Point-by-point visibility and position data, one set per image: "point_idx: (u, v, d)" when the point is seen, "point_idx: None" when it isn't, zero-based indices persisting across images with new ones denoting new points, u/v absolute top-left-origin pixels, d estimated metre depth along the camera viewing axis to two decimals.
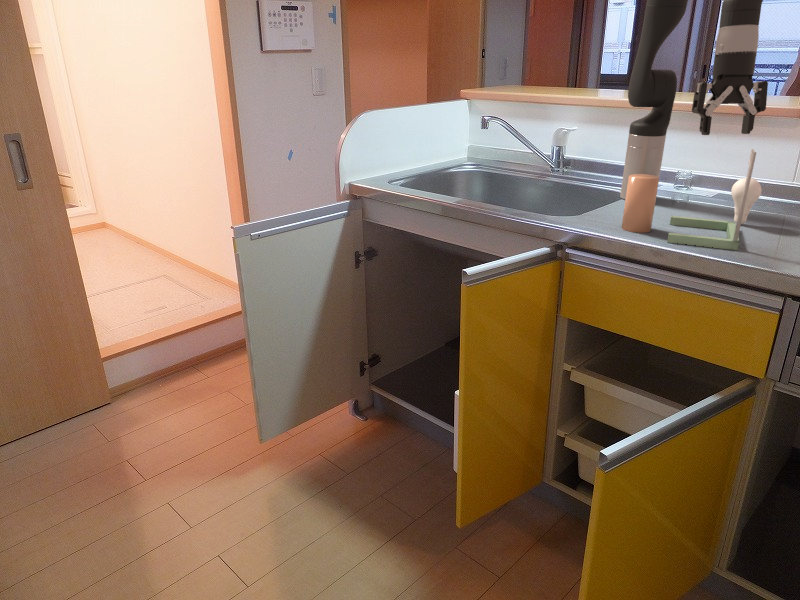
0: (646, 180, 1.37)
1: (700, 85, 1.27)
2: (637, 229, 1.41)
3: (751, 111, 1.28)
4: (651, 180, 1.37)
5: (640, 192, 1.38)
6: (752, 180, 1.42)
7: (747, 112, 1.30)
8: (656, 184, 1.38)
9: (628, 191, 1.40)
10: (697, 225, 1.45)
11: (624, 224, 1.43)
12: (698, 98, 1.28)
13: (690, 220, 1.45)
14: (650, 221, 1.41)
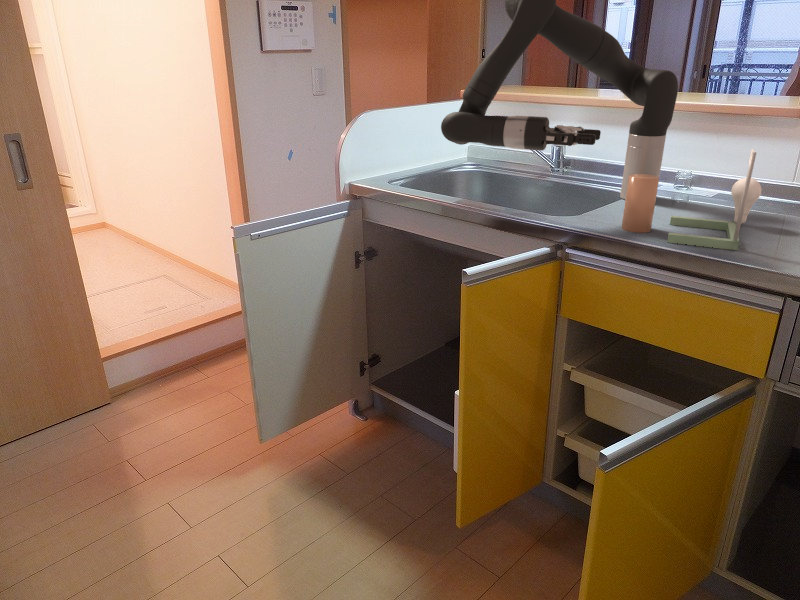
0: (646, 180, 1.37)
1: None
2: (637, 229, 1.41)
3: None
4: (651, 180, 1.37)
5: (640, 192, 1.38)
6: (752, 180, 1.42)
7: None
8: (656, 184, 1.38)
9: (628, 191, 1.40)
10: (697, 225, 1.45)
11: (624, 224, 1.43)
12: None
13: (690, 220, 1.45)
14: (650, 221, 1.41)
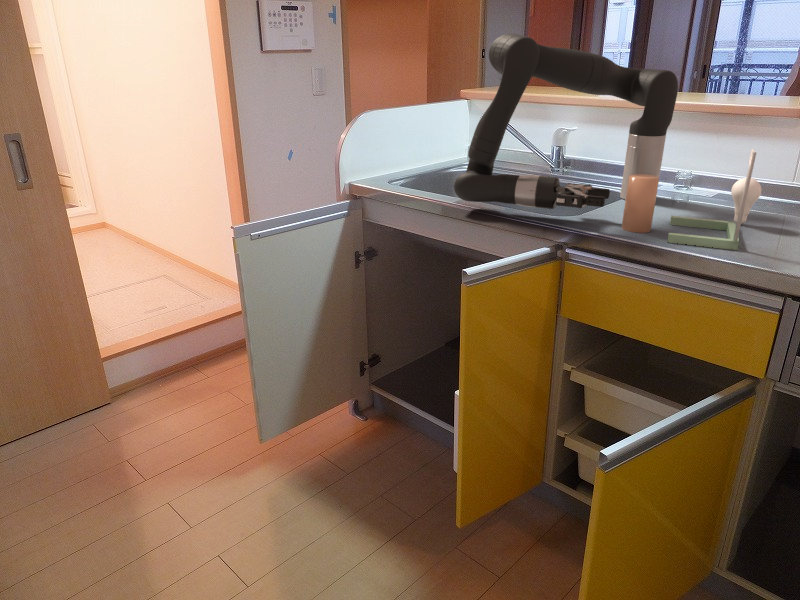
0: (646, 180, 1.37)
1: None
2: (637, 229, 1.41)
3: None
4: (651, 180, 1.37)
5: (640, 192, 1.38)
6: (752, 180, 1.42)
7: None
8: (656, 184, 1.38)
9: (628, 191, 1.40)
10: (697, 225, 1.45)
11: (624, 224, 1.43)
12: None
13: (690, 220, 1.45)
14: (650, 221, 1.41)
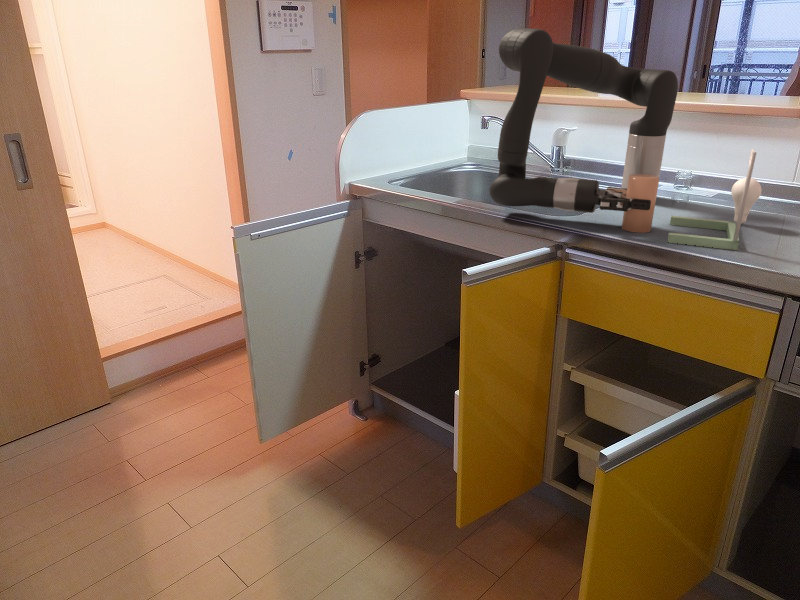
0: (646, 180, 1.37)
1: None
2: (637, 229, 1.41)
3: None
4: (651, 180, 1.37)
5: (640, 192, 1.38)
6: (752, 180, 1.42)
7: None
8: (656, 184, 1.38)
9: (628, 191, 1.40)
10: (697, 225, 1.45)
11: (624, 224, 1.43)
12: None
13: (690, 220, 1.45)
14: (650, 221, 1.41)
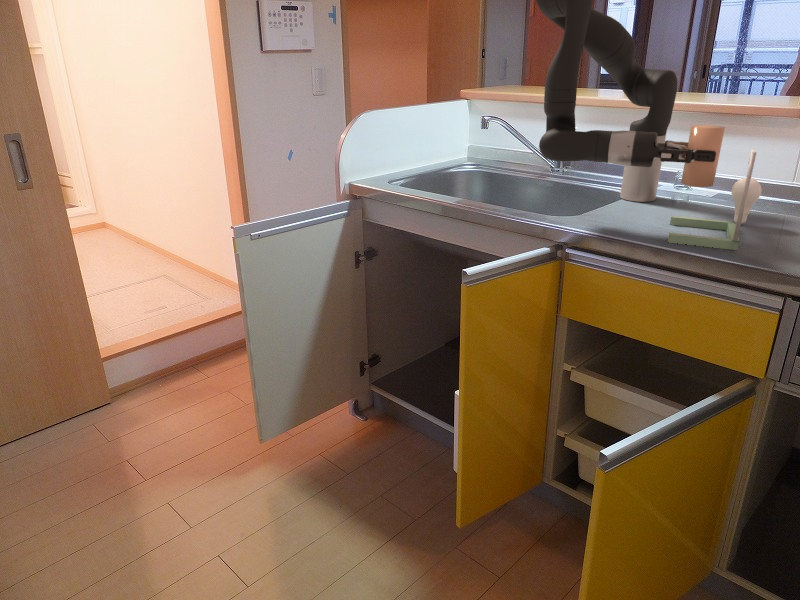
0: (711, 129, 1.28)
1: None
2: (700, 183, 1.32)
3: None
4: (717, 129, 1.28)
5: (704, 142, 1.29)
6: (752, 180, 1.42)
7: None
8: (722, 134, 1.29)
9: (690, 142, 1.32)
10: (697, 225, 1.45)
11: (684, 178, 1.34)
12: None
13: (690, 220, 1.45)
14: (713, 174, 1.32)
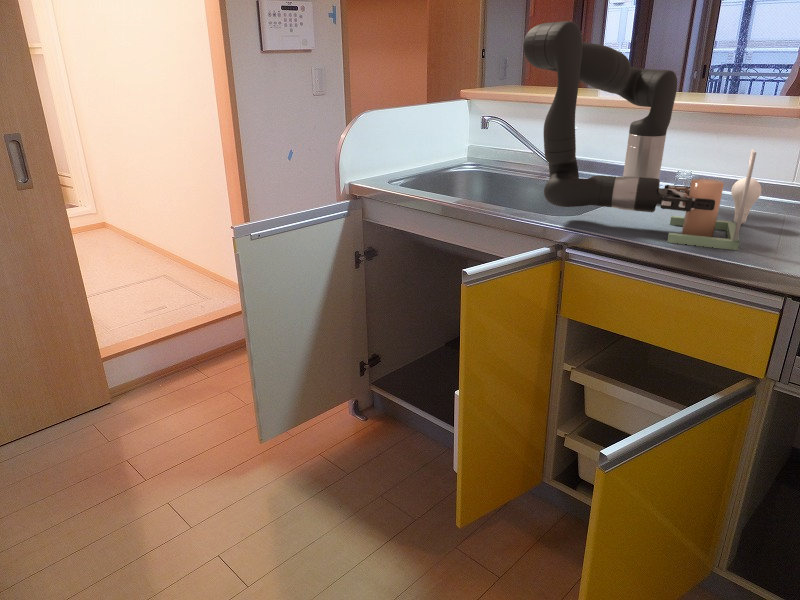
0: (711, 185, 1.32)
1: None
2: None
3: None
4: (716, 185, 1.32)
5: (704, 198, 1.33)
6: (752, 180, 1.42)
7: None
8: (721, 189, 1.33)
9: (691, 196, 1.35)
10: None
11: (685, 230, 1.38)
12: None
13: None
14: (713, 228, 1.36)
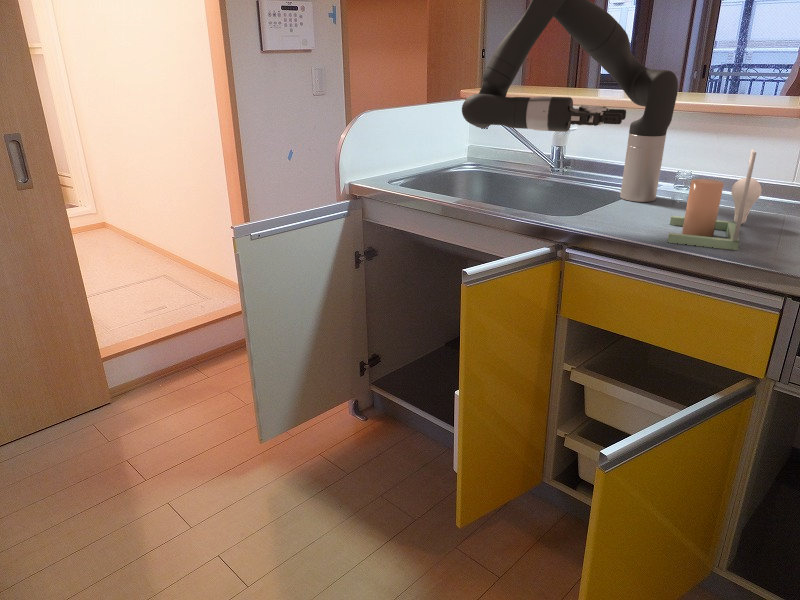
0: (711, 185, 1.32)
1: None
2: None
3: None
4: (716, 185, 1.32)
5: (704, 198, 1.33)
6: (752, 180, 1.42)
7: None
8: (721, 189, 1.33)
9: (691, 196, 1.35)
10: None
11: (685, 230, 1.38)
12: None
13: None
14: (713, 228, 1.36)
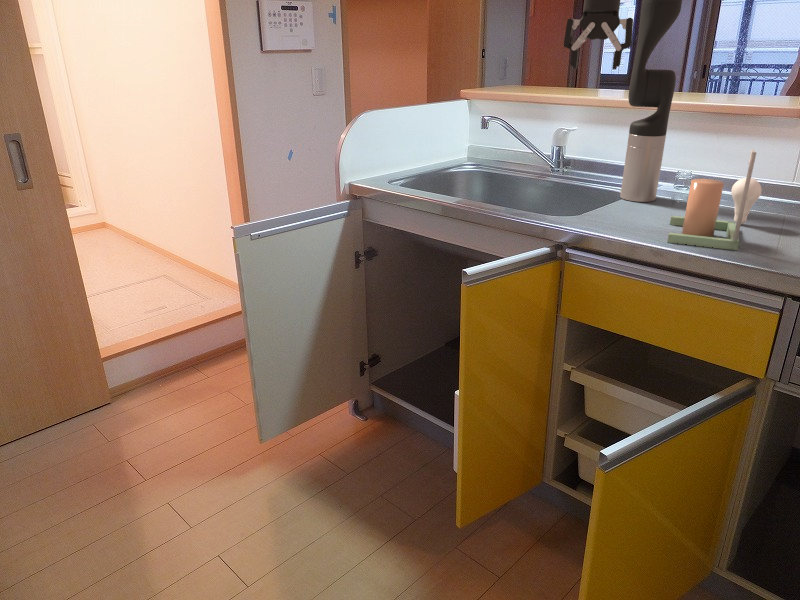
0: (711, 185, 1.32)
1: None
2: None
3: (616, 47, 1.36)
4: (716, 185, 1.32)
5: (704, 198, 1.33)
6: (752, 180, 1.42)
7: None
8: (721, 189, 1.33)
9: (691, 196, 1.35)
10: None
11: (685, 230, 1.38)
12: None
13: None
14: (713, 228, 1.36)
